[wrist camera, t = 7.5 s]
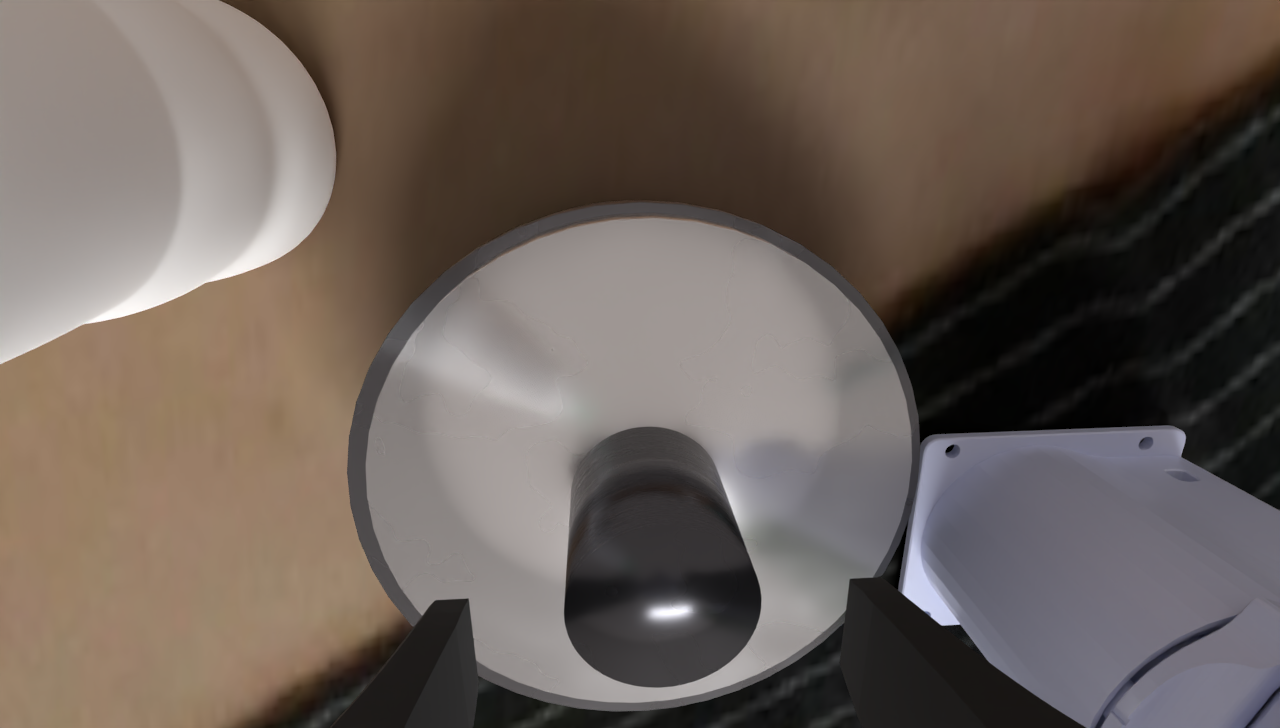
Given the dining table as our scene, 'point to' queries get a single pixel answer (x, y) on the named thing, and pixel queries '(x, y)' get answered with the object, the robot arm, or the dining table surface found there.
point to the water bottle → (146, 157)
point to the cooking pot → (462, 270)
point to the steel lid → (639, 457)
